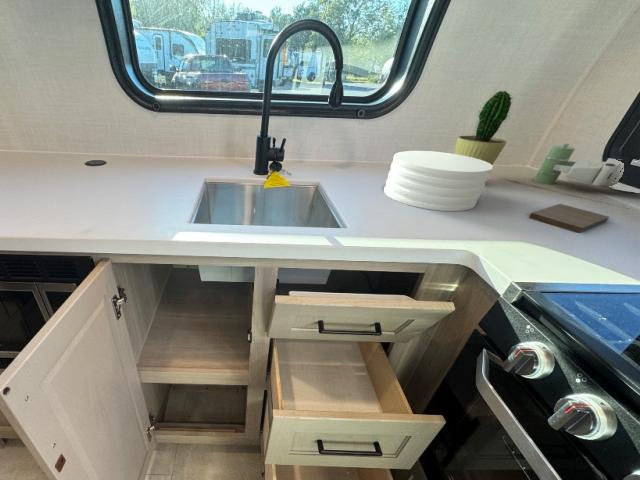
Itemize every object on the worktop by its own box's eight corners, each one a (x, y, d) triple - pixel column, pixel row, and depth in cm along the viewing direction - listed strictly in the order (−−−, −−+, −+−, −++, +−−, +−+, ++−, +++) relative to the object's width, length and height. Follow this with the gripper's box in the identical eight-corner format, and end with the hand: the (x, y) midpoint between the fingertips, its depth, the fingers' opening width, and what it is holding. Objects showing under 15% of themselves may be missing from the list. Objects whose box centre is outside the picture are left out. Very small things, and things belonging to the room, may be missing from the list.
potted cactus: (438, 173, 131) (471, 86, 113) (479, 177, 128) (520, 88, 110) (446, 184, 119) (485, 88, 101) (492, 188, 116) (541, 90, 98)
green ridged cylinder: (554, 183, 123) (579, 143, 114) (552, 187, 119) (577, 146, 110) (533, 180, 126) (555, 141, 118) (530, 183, 123) (552, 143, 114)
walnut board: (556, 208, 100) (559, 203, 99) (605, 221, 91) (609, 216, 90) (528, 217, 92) (531, 212, 92) (579, 233, 84) (582, 227, 83)
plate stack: (496, 207, 99) (516, 169, 92) (423, 214, 92) (439, 174, 86) (430, 181, 121) (442, 149, 114) (367, 186, 114) (376, 152, 107)
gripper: (614, 158, 114) (565, 152, 122) (610, 167, 103) (557, 159, 111) (602, 176, 118) (555, 169, 126) (597, 187, 106) (546, 178, 114)
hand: (556, 164), depth 118 cm, fingers open, 8 cm apart
